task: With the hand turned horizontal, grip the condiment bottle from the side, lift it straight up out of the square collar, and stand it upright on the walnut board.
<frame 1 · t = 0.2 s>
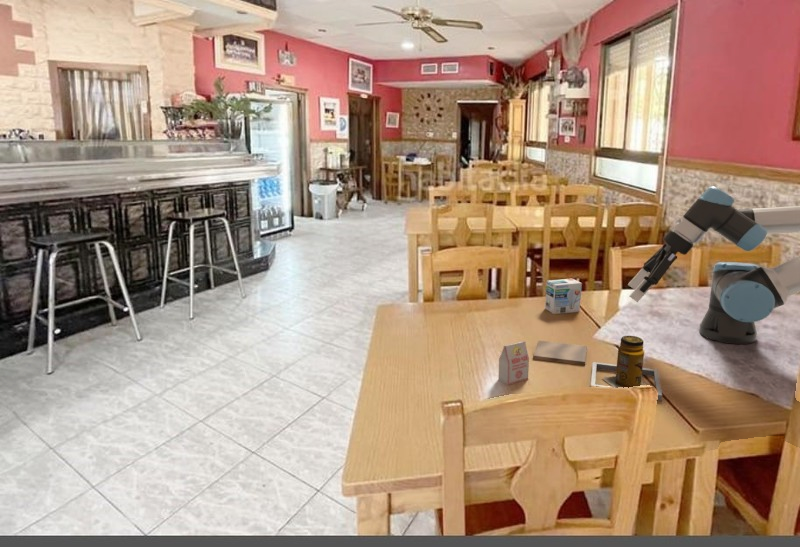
hand: (632, 293, 161), 15 cm above the table, fingers open, 13 cm apart
white milk carton: (513, 380, 140), on the table
walnut board: (560, 353, 156), on the table
square collar: (624, 382, 137), on the table
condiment: (624, 383, 137), resting in square collar
light bulb box: (562, 310, 194), on the table
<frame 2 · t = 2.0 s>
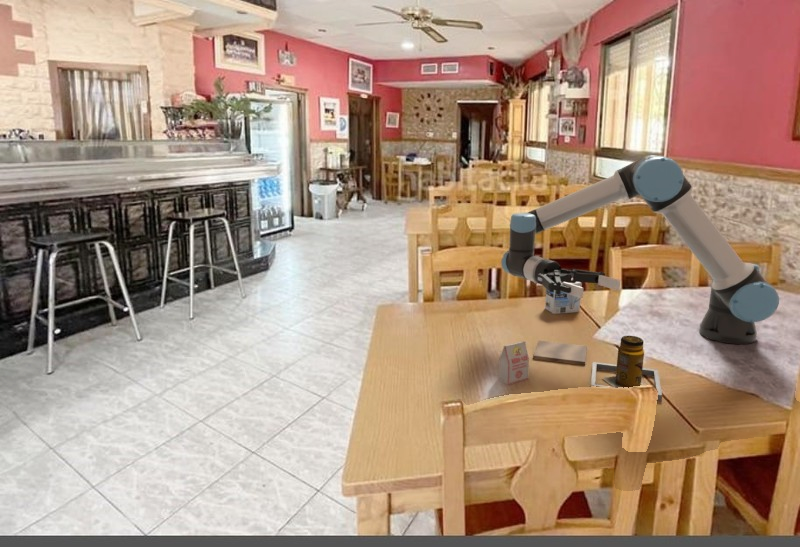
hand: (601, 289, 140), 22 cm above the table, fingers open, 13 cm apart
nothing on the table moved.
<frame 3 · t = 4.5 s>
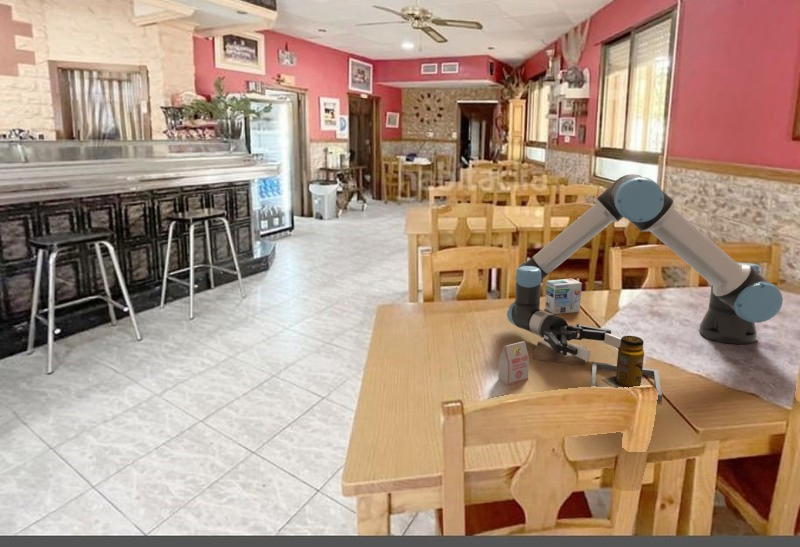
hand: (607, 350, 140), 7 cm above the table, fingers open, 13 cm apart
nothing on the table moved.
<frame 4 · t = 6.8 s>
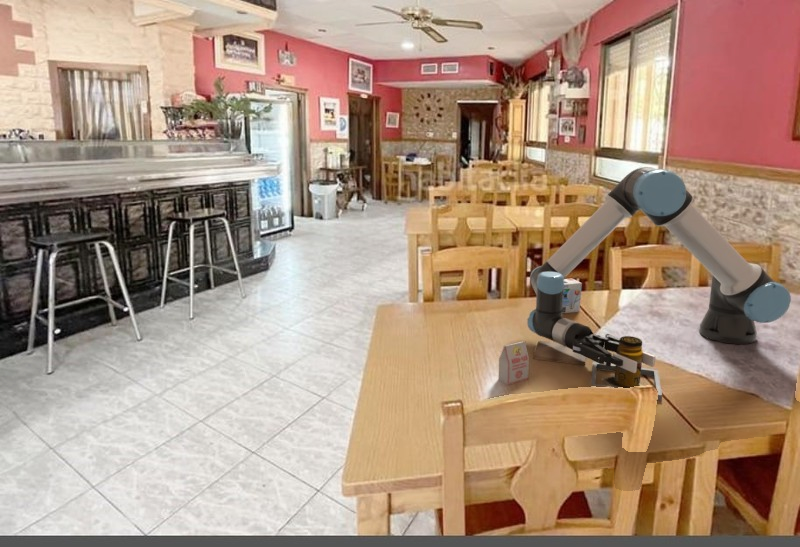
hand: (644, 364, 131), 7 cm above the table, fingers closed on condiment, 6 cm apart
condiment: (623, 384, 137), resting in square collar, touching gripper
everything else where it was.
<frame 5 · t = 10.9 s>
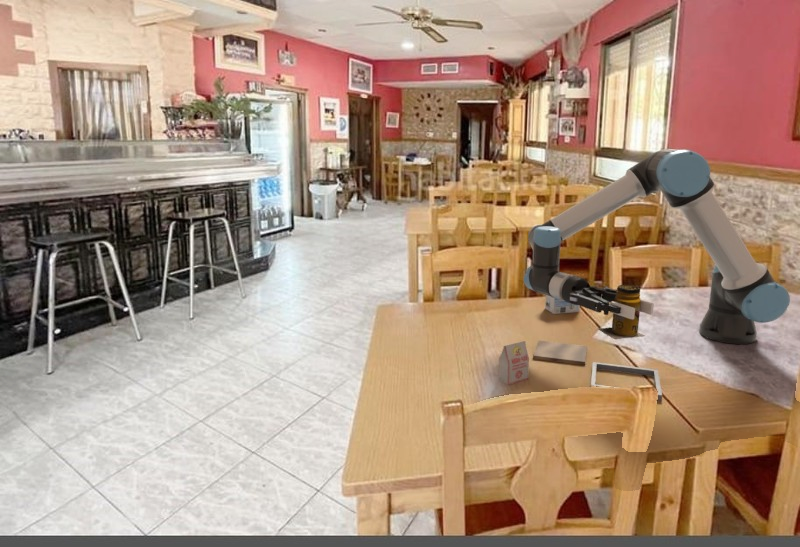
hand: (642, 311, 129), 20 cm above the table, fingers closed on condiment, 6 cm apart
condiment: (620, 334, 135), point 13 cm above the table, touching gripper
everything else where it was.
when the fingers open (9 cm above the table, at t = 15.2 s): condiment drops 1 cm, resting on walnut board.
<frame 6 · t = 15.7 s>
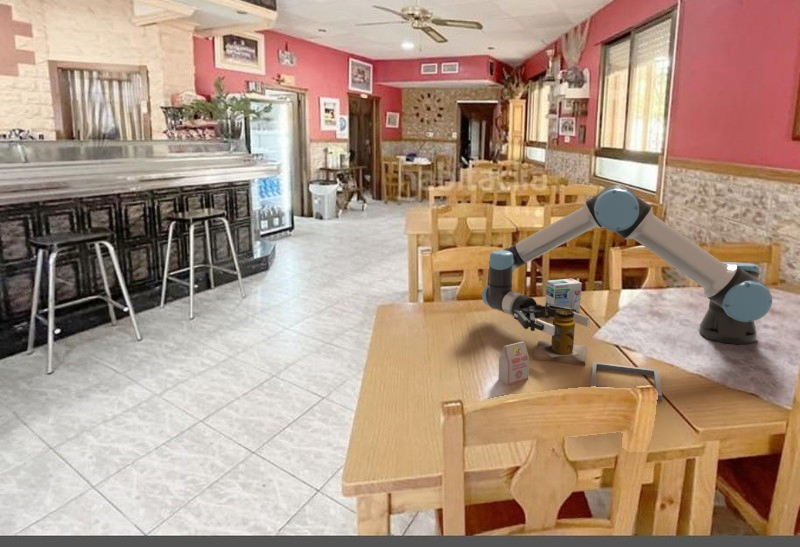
hand: (571, 326, 151), 9 cm above the table, fingers open, 13 cm apart
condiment: (558, 352, 155), point 1 cm above the table, touching walnut board
everything else where it was.
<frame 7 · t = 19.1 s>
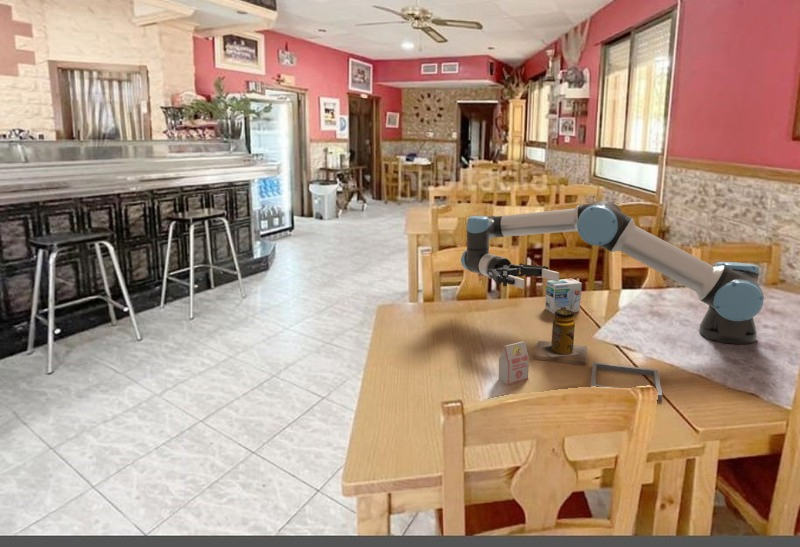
hand: (541, 280, 159), 20 cm above the table, fingers open, 13 cm apart
nothing on the table moved.
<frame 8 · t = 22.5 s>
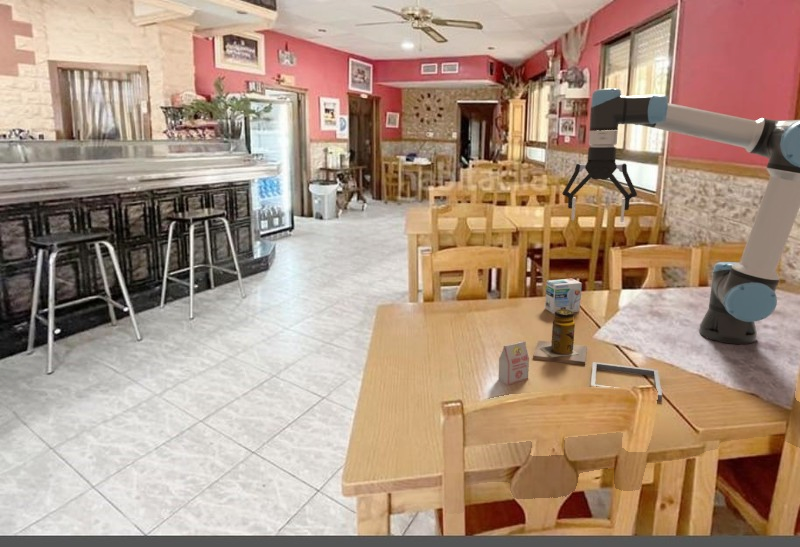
hand: (596, 220, 159), 37 cm above the table, fingers open, 13 cm apart
nothing on the table moved.
at the end: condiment inside the target area on the walnut board (0.8 cm from its centre), point 0.8 cm above the walnut board's base; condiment tilted 0°; the gripper is holding nothing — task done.
